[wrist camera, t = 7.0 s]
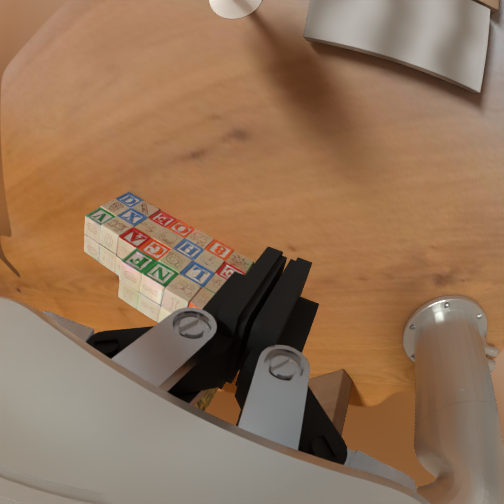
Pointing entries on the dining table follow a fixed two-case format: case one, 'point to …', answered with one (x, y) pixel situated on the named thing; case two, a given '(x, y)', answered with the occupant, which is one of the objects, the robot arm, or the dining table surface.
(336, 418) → the wooden block
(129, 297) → the stack of blocks
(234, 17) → the champagne flute
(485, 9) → the grey plank
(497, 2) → the walnut floor strip
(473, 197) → the dining table surface
